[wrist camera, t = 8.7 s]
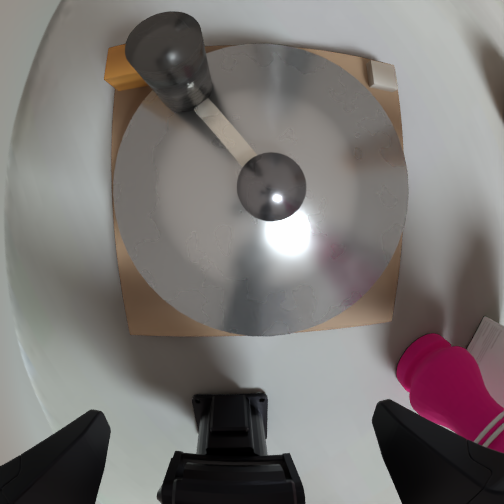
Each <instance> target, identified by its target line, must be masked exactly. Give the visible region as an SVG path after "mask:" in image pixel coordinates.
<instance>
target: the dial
mask: <svg viewBox="0 0 504 504" xmlns="http://www.w3.org/2000/svg"><path fill="white" fill-rule="evenodd" d="M125 56H126V59H127V61H128V62H129V63H130V65H131V66H132V67H133V68H134V69H135V70H136V71H137V73H138V74H139V75H140V76H141V77H142V78H143V79H144V81H145V82H146V83H147V84H148V85H149V86H150V88H151V89H152V91H151V92H150V93H149V95H148V96H147V97H146V98H145V99H144V100H143V102H142V103H141V105H140V106H139V108H138V109H137V111H136V112H135V114H134V115H133V117H132V118H131V120H130V123H129V125H128V127H127V129H126V131H125V133H124V135H123V138H122V141H121V144H120V147H119V151H118V154H117V158H116V164H115V170H114V181H113V199H114V208H115V216H116V220H117V224H118V228H119V231H120V235H121V238H122V240H123V243H124V245H125V247H126V250H127V252H128V254H129V256H130V258H131V260H132V261H133V263H134V265H135V267H136V268H137V270H138V271H139V273H140V274H141V275H142V277H143V278H144V279H145V281H146V282H147V283H148V284H149V286H150V287H151V288H152V289H153V290H154V291H155V292H156V293H157V294H158V295H159V296H160V297H161V298H162V299H163V300H164V301H166V302H167V303H168V304H170V305H171V306H172V307H174V308H175V309H176V310H178V311H179V312H181V313H182V314H184V315H186V316H188V317H189V318H191V319H193V320H195V321H196V322H199V323H201V324H204V325H206V326H209V327H211V328H214V329H217V330H221V331H225V332H228V333H232V334H239V335H247V336H276V335H284V334H290V333H294V332H298V331H302V330H306V329H309V328H312V327H314V326H317V325H319V324H322V323H324V322H326V321H328V320H330V319H332V318H333V317H335V316H337V315H339V314H341V313H342V312H343V311H345V310H346V309H348V308H349V307H350V306H352V305H353V304H354V303H356V302H357V301H358V300H359V299H360V298H361V297H362V296H363V295H364V294H365V293H366V292H368V291H369V289H370V288H371V287H372V286H373V285H374V284H375V282H376V281H377V280H378V279H379V277H380V276H381V275H382V273H383V272H384V270H385V268H386V267H387V265H388V264H389V262H390V260H391V258H392V256H393V254H394V252H395V250H396V248H397V246H398V243H399V240H400V237H401V234H402V231H403V228H404V224H405V219H406V214H407V206H408V174H407V168H406V162H405V157H404V153H403V150H402V147H401V144H400V140H399V138H398V135H397V133H396V131H395V129H394V127H393V124H392V122H391V120H390V119H389V117H388V116H387V114H386V112H385V111H384V109H383V108H382V106H381V105H380V103H379V102H378V101H377V100H376V98H375V97H374V96H373V95H372V94H371V92H370V91H369V90H368V89H367V88H366V87H365V86H364V85H363V84H362V83H360V82H359V81H358V80H357V79H356V78H355V77H354V76H352V75H351V74H350V73H348V72H347V71H346V70H344V69H343V68H341V67H340V66H338V65H336V64H335V63H333V62H331V61H329V60H327V59H325V58H323V57H321V56H319V55H316V54H314V53H311V52H308V51H305V50H302V49H298V48H294V47H290V46H285V45H276V44H266V43H263V44H243V45H237V46H231V47H225V48H222V49H219V50H215V51H212V52H209V53H206V51H205V47H204V42H203V37H202V32H201V28H200V25H199V23H198V22H197V21H196V20H195V19H194V18H193V17H192V16H190V15H188V14H185V13H182V12H164V13H159V14H156V15H154V16H151V17H149V18H147V19H146V20H144V21H142V22H141V23H140V24H139V25H137V26H136V27H135V28H134V30H133V31H132V32H131V33H130V35H129V37H128V39H127V41H126V44H125Z"/></svg>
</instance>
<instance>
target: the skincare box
mask: <svg viewBox="0 0 504 504" xmlns="http://www.w3.org/2000/svg"><path fill="white" fill-rule="evenodd" d="M466 350H467V351H468V352H469V353H470V354H471V355H472V356H473V357H474V359H475V360H476V362H477V364H478V366H479V369H480V372H481V375H482V378H483V381H484V384H485V387H486V389H487V390H488V392H489V394H490V396H491V397H492V398H493V399H494V400H495V401H496V402H497V403H498V404H499V405H500V406H502V407H503V408H504V326H503V325H501V324H499V323H497V322H495V321H494V320H492V319H490V318H488V317H486V316H484V317H483V320H482V322H481V324H480V326H479V328H478V329H477V331H476V333H475V335H474V337H473V339H472V341H471V342H470V344H469V346H468V348H467V349H466Z"/></svg>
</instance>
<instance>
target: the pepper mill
mask: <svg viewBox="0 0 504 504" xmlns="http://www.w3.org/2000/svg"><path fill="white" fill-rule="evenodd" d="M396 373H397V379H398V381H399V382H400V383H401V385H402V386H403V387H404V388H405V390H406V391H408V392H410V395H409V397H410V403H411V406H412V407H413V409H414V410H415V411H416V412H417V413H418V414H419V415H420V416H422V417H424V418H426V419H428V420H430V421H432V422H434V423H436V424H439V425H442V426H445V427H447V428H449V429H451V430H452V431H454V432H455V433H456V434H458V435H460V436H462V437H464V438H466V439H467V440H471V441H473V442H475V443H477V444H480V445H482V446H484V447H487V448H490V449H493V450H496V451H499V452H502V453H504V408H503V407H502V406H500V405H499V404H498V403H497V402H496V401H495V400H494V399H493V398H492V397H491V396H490V394H489V392H488V390H487V389H486V387H485V384H484V381H483V378H482V375H481V372H480V369H479V366H478V364H477V362H476V360H475V359H474V357H473V356H472V355H471V354H470V353H469V352H468V351H467V350H466V349H465V348H463V347H459V346H452V347H451V344H450V343H449V342H448V341H447V340H445V339H444V338H443V337H442V336H440V335H439V334H435V333H431V334H427V335H424V336H422V337H420V338H418V339H417V340H416V341H415V342H413V343H412V344H411V345H410V346H409V347H408V348H407V350H406V351H405V352H404V354H403V355H402V357H401V359H400V361H399V363H398V366H397V372H396Z"/></svg>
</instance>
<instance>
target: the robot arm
mask: <svg viewBox="0 0 504 504" xmlns="http://www.w3.org/2000/svg"><path fill="white" fill-rule="evenodd" d="M260 398H264V399H260ZM197 399H198V400H200V401H198V400H197ZM192 403H193V408H194V413H195V418H196V422H197V427H198V431H199V435H198V444H197V453H196V454H191V453H183V452H182V451H175V453H174V456H173V458H171V461H170V464H169V467H168V470H167V472H166V475H165V478H164V481H163V484H162V486H161V488H160V489H159V491H158V493H157V499H158V500H159V501H160V502H161V504H305V494H304V489H303V485H302V482H301V480H300V477H299V475H298V472H297V470H296V467H295V465H294V463H293V460H292V458H291V455H290V453H285V454H282V455H267V447H266V440H265V439H266V438H267V409H268V399H267V395H266V394H264V393H257V394H233V395H194V396H193V399H192ZM372 424H373V427H374V431H375V434H376V437H377V440H378V444H379V447H380V451H381V454H382V457H383V460H384V462H385V465H386V467H387V469H388V471H389V474H390V476H391V478H392V481H393V483H394V485H395V488H396V490H397V492H398V495H399V497H400V500H401V502H402V504H504V453H502V452H499V451H496V450H493V449H490V448H487V447H484V446H482V445H480V444H477V443H475V442H473V441H471V440H467V439H466V438H464V437H462V436H460V435H458V434H456V433H454V432H452V431H450V430H448V429H446V428H444V427H442V426H440V425H438V424H436V423H434V422H432V421H430V420H428V419H426V418H424V417H422V416H420V415H418V414H416V413H414V412H413V411H411V410H409V409H407V408H405V407H403V406H401V405H400V404H398V403H396V402H394V401H392V400H390V399H387V400H383V401H379V402H378V403H377V405H376V408H375V411H374V414H373V417H372ZM110 433H111V430H110V426H109V424H108V422H107V420H106V418H105V416H104V414H103V412H102V411H98V410H89V411H88V412H86V413H85V414H83V415H82V416H80V417H79V418H77V419H76V420H74V421H73V422H71V423H70V424H68V425H67V426H65V427H64V428H62V429H61V430H59V431H57V432H56V433H54V434H53V435H51V436H50V437H48V438H47V439H45V440H44V441H42V442H40V443H39V444H37V445H36V446H34V447H32V448H31V449H29V450H27V451H26V452H24V453H23V454H21V455H20V456H18V457H16V458H14V459H13V460H11V461H9V462H7V463H5V464H4V465H2V466H0V504H95V502H96V498H97V494H98V490H99V486H100V483H101V479H102V475H103V472H104V468H105V462H106V456H107V450H108V444H109V439H110Z"/></svg>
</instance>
